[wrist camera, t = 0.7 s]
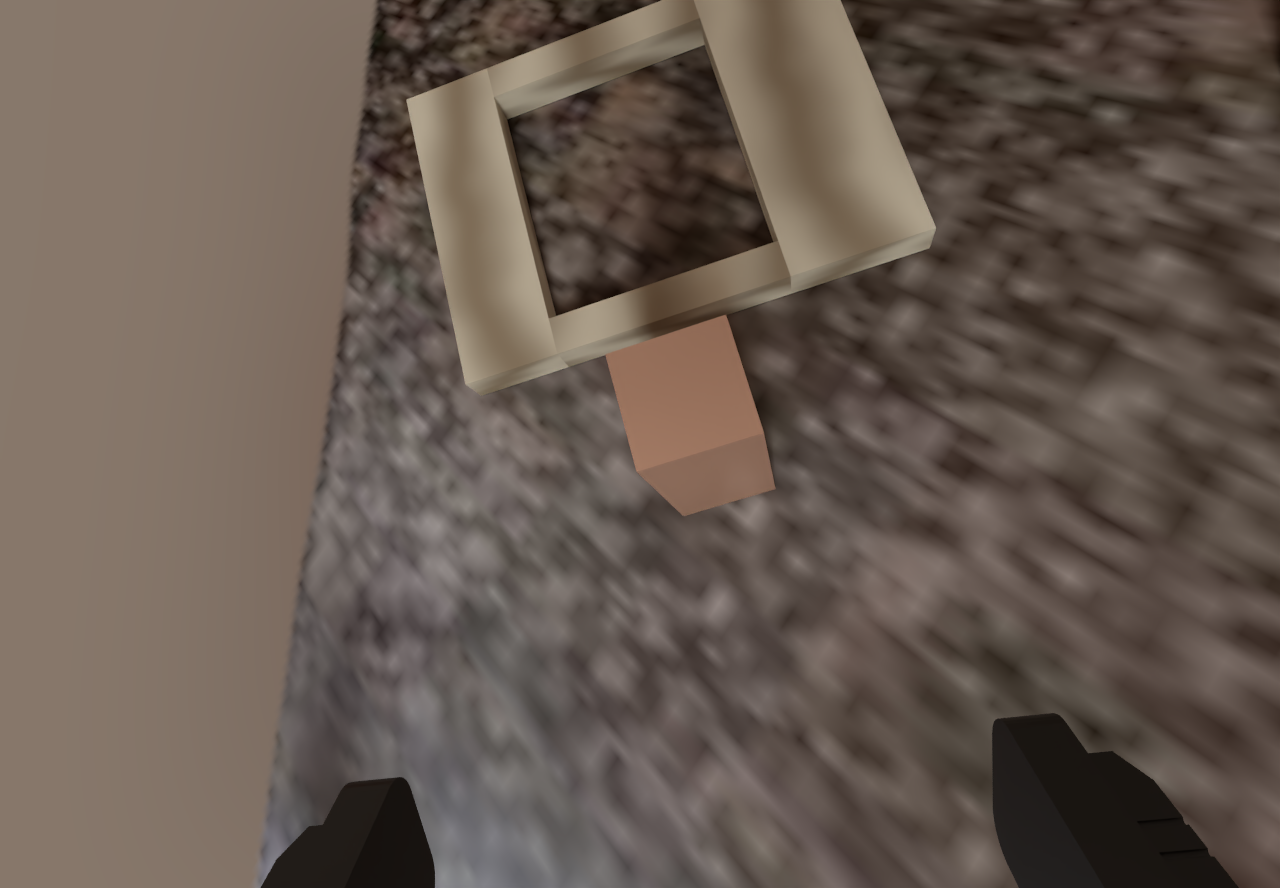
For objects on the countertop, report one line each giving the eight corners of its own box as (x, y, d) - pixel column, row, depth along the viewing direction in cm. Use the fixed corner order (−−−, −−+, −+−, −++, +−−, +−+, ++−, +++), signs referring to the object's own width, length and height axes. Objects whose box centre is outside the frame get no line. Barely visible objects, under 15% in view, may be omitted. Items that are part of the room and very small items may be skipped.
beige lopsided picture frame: (815, -29, 43) (815, -60, 41) (929, 248, 38) (936, 227, 36) (422, 121, 46) (406, 99, 44) (481, 395, 41) (465, 384, 39)
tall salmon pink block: (747, 401, 38) (725, 314, 28) (775, 488, 37) (763, 432, 26) (659, 428, 39) (605, 354, 28) (683, 516, 38) (636, 472, 27)
